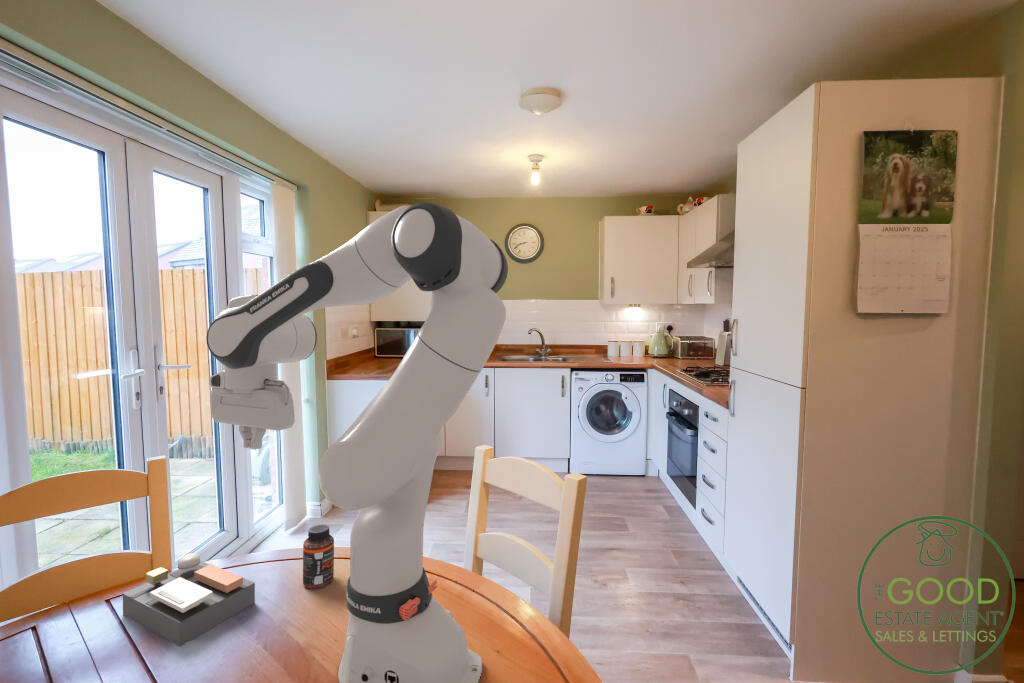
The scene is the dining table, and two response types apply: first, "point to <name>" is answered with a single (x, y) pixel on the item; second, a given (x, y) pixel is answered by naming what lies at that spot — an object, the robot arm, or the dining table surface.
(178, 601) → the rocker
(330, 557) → the supplement bottle
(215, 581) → the terracotta button
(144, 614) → the panel
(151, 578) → the slider knob
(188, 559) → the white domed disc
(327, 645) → the dining table surface
